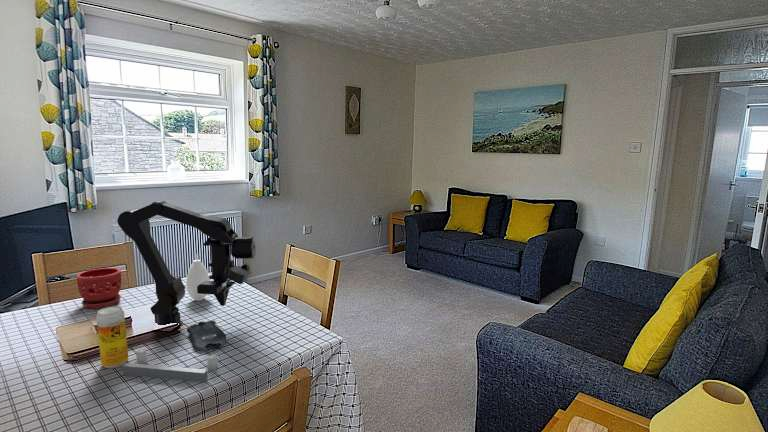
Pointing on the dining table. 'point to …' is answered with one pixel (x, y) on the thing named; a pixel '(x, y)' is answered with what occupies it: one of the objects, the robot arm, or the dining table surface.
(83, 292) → the plant pot
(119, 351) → the yellow pill bottle
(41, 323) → the dining table surface
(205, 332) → the electronic device
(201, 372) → the dock
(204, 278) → the sauce bottle
